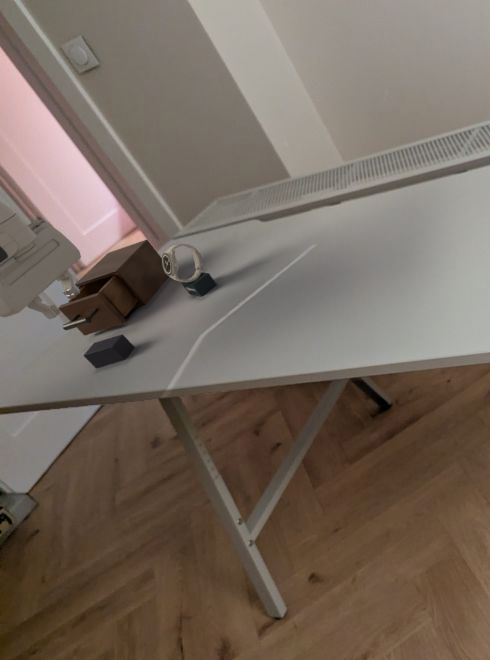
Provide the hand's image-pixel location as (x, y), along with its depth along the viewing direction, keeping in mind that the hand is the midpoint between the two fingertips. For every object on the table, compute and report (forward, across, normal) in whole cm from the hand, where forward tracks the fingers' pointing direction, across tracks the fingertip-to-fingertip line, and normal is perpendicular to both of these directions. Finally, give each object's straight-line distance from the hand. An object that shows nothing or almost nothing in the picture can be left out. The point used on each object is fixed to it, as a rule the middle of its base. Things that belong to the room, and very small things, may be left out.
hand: (65, 305), depth 99 cm
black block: (+13, 0, 0) cm, 13 cm away
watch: (+13, -19, +12) cm, 26 cm away
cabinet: (+13, -28, -10) cm, 32 cm away
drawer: (+12, -17, -10) cm, 23 cm away
